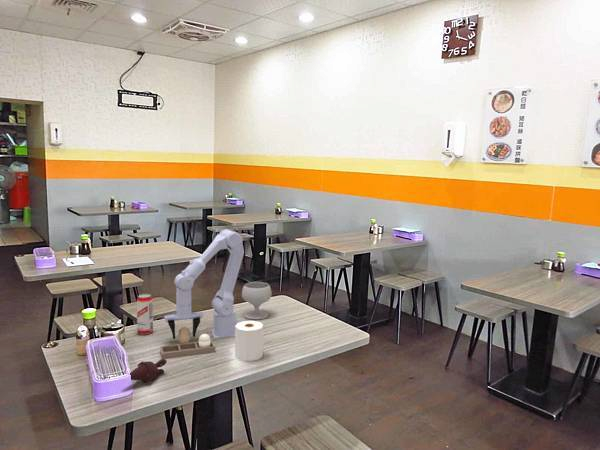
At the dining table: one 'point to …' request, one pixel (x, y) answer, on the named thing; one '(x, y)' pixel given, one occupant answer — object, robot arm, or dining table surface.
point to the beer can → (144, 314)
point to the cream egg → (204, 341)
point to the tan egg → (184, 335)
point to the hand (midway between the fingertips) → (184, 337)
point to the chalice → (256, 298)
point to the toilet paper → (249, 340)
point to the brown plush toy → (147, 371)
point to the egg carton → (185, 350)
